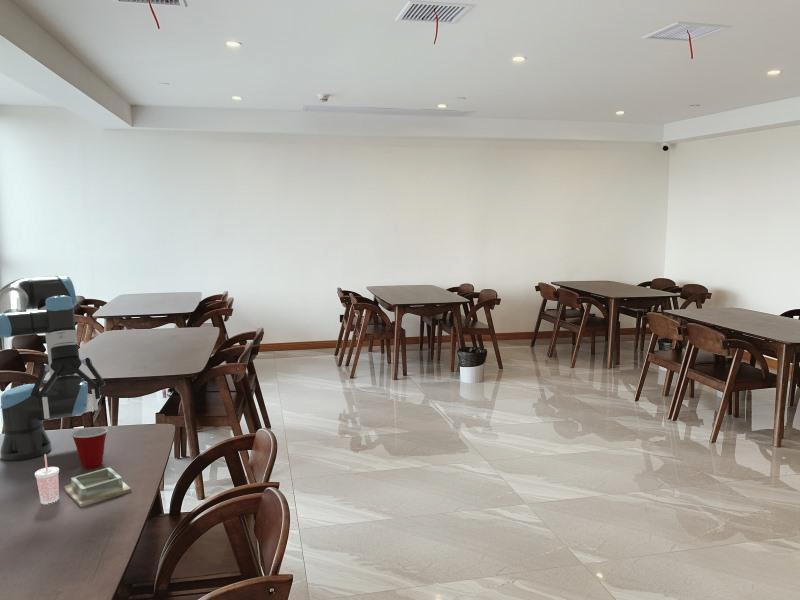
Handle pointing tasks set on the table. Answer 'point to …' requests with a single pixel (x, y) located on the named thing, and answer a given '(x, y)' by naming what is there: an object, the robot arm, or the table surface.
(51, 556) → the table surface
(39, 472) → the beverage cup
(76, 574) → the table surface
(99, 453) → the plastic cup
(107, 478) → the cup stand
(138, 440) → the table surface
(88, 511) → the table surface
